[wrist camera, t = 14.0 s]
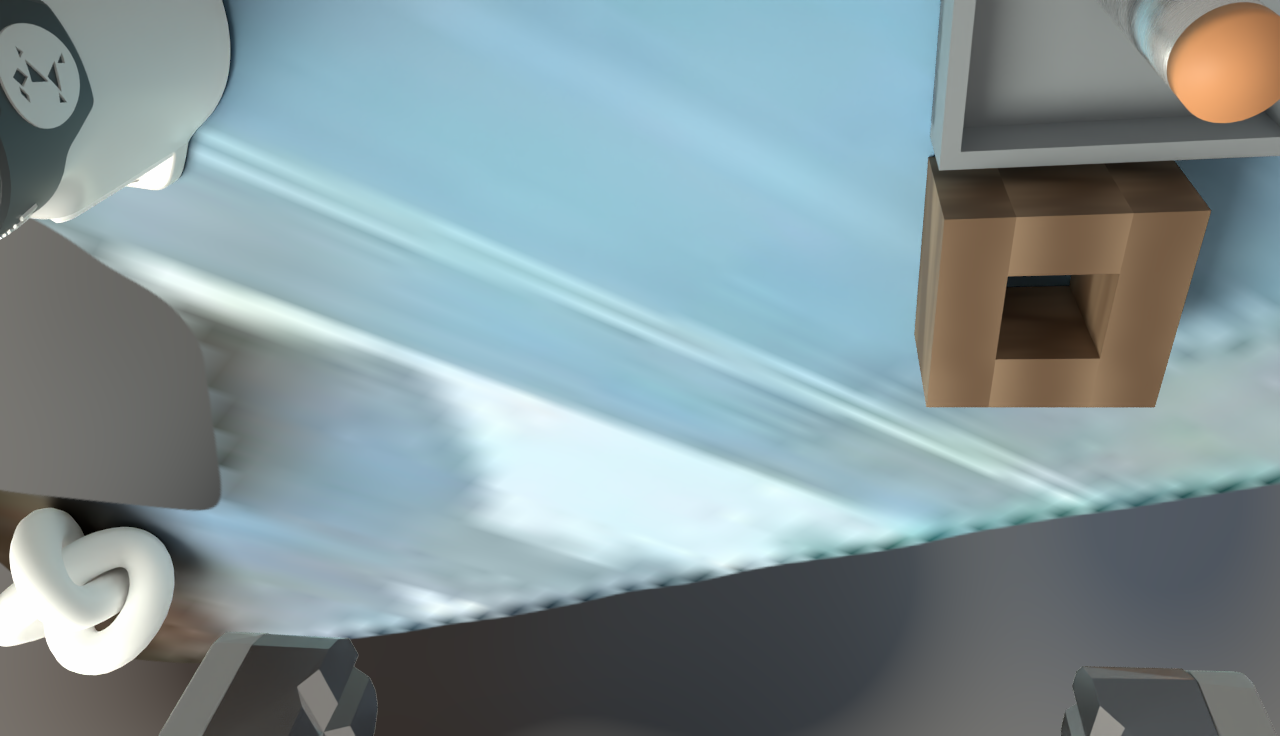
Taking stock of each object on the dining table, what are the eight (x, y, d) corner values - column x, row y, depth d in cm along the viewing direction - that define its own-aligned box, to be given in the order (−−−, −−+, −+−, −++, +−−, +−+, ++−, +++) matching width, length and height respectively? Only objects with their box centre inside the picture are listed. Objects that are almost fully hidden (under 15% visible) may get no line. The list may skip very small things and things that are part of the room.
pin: (1080, 13, 37) (1168, 126, 28) (1094, -73, 35) (1193, 19, 26) (1167, 6, 36) (1284, 119, 27) (1186, -82, 34) (1318, 10, 26)
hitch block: (914, 333, 48) (926, 407, 44) (928, 157, 42) (944, 219, 38) (1119, 331, 47) (1154, 407, 42) (1163, 146, 41) (1211, 210, 36)
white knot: (145, 614, 75) (78, 713, 68) (8, 531, 71) (-79, 628, 64) (213, 562, 69) (147, 664, 62) (68, 468, 65) (-20, 567, 58)
